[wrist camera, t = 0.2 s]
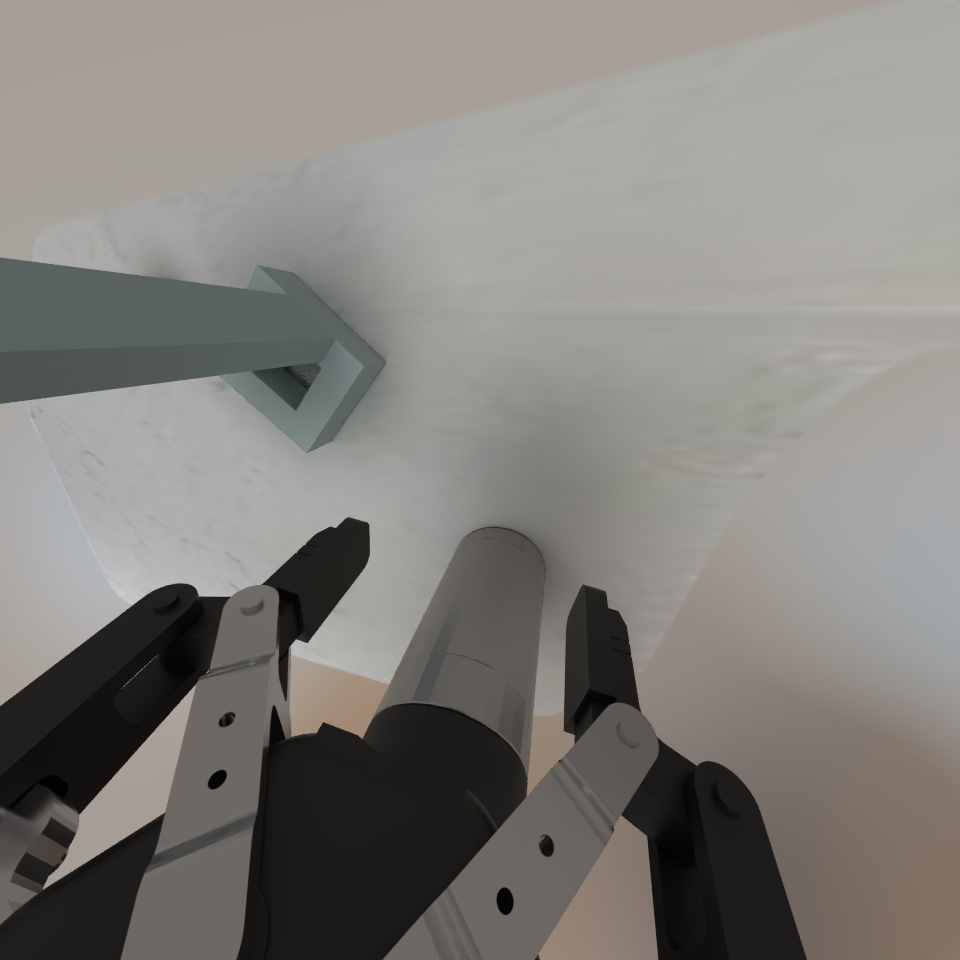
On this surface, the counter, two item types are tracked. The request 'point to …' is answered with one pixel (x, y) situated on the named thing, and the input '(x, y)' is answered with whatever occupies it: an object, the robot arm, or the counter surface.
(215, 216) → the counter surface
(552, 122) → the counter surface
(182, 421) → the counter surface
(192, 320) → the socket stand
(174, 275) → the counter surface
